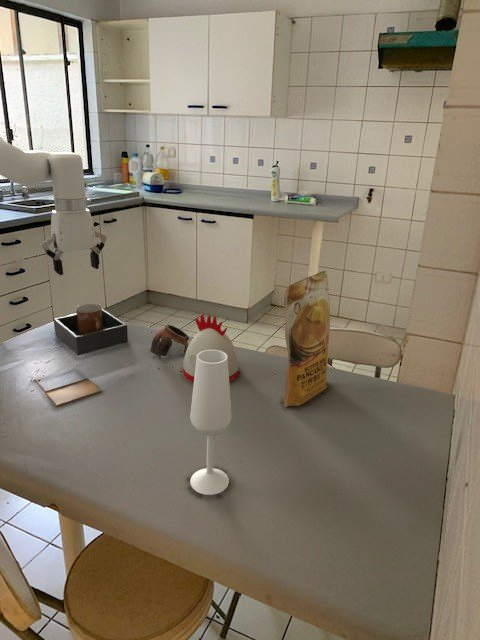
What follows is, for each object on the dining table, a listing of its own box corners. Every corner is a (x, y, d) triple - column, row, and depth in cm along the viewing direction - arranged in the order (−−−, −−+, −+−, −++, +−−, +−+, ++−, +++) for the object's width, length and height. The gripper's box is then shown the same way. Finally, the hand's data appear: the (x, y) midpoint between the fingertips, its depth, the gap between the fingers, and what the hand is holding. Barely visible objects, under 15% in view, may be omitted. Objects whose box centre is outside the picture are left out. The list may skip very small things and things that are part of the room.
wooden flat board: (34, 380, 108) (33, 378, 108) (75, 368, 115) (75, 366, 114) (56, 407, 99) (56, 405, 99) (100, 392, 105) (100, 390, 105)
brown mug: (75, 337, 130) (72, 307, 126) (97, 331, 134) (95, 302, 130) (88, 348, 124) (85, 316, 120) (111, 342, 128) (109, 311, 124)
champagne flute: (212, 462, 84) (215, 343, 75) (237, 482, 80) (243, 358, 71) (182, 479, 80) (181, 354, 71) (206, 501, 75) (208, 371, 66)
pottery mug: (152, 345, 130) (166, 320, 129) (181, 362, 130) (195, 337, 129) (140, 353, 118) (155, 326, 117) (172, 372, 118) (188, 345, 117)
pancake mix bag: (265, 402, 104) (274, 283, 93) (313, 374, 117) (326, 267, 107) (289, 414, 100) (301, 291, 89) (336, 384, 113) (351, 273, 102)
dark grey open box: (55, 337, 131) (53, 318, 128) (103, 326, 139) (102, 308, 137) (78, 357, 120) (75, 337, 118) (128, 344, 129) (127, 324, 127)
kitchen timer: (198, 354, 124) (198, 302, 119) (246, 365, 120) (249, 311, 114) (173, 378, 112) (172, 320, 107) (225, 390, 108) (227, 331, 102)
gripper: (96, 200, 124) (102, 262, 130) (30, 205, 113) (39, 273, 120) (109, 204, 119) (114, 268, 125) (41, 209, 108) (50, 280, 114)
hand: (77, 270), depth 122 cm, fingers open, 9 cm apart
